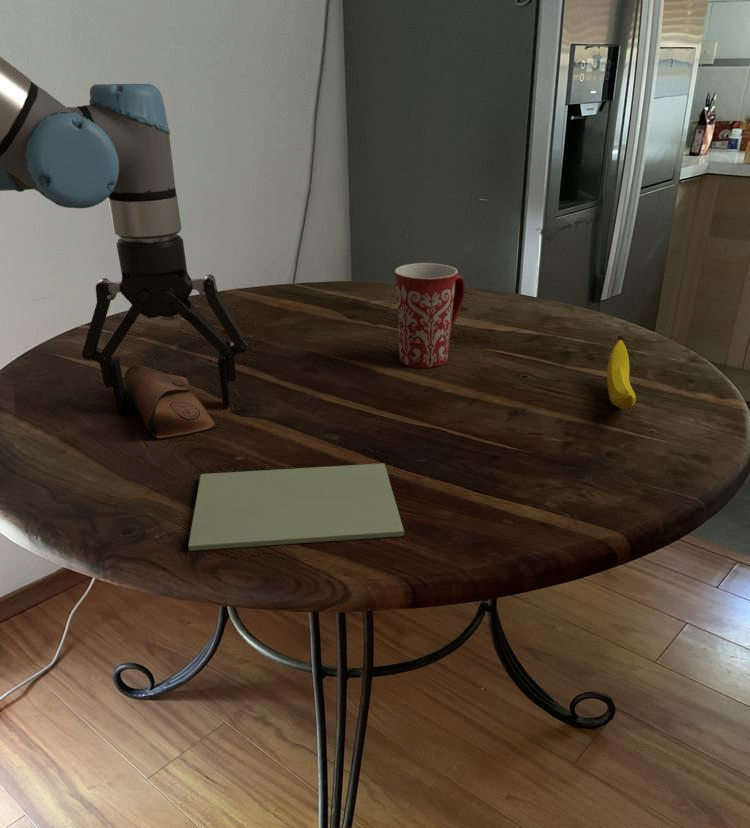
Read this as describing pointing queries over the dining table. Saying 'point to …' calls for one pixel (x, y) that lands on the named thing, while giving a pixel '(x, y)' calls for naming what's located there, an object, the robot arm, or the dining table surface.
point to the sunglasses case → (166, 403)
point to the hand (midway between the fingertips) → (175, 406)
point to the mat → (294, 507)
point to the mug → (427, 311)
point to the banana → (620, 377)
